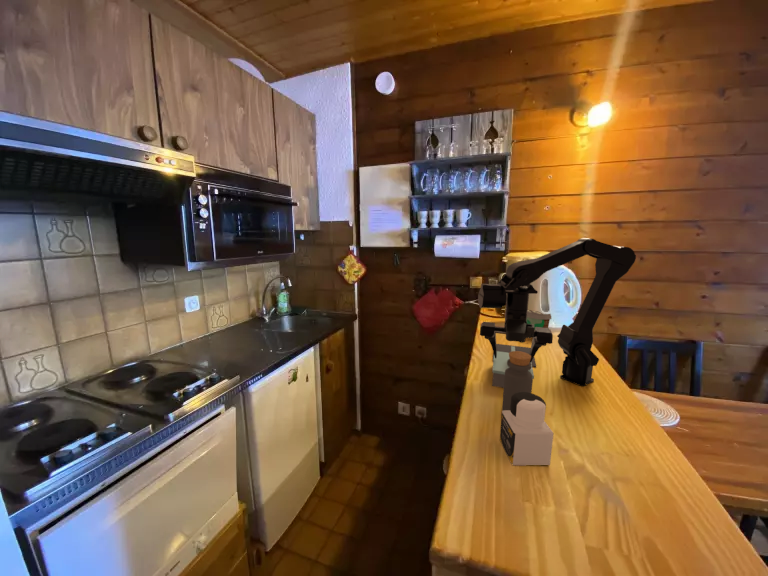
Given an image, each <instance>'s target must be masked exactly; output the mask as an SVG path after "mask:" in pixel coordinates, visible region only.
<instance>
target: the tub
mask: <svg viewBox="0 0 768 576" xmlns="http://www.w3.org/2000/svg"><path fill="white" fill-rule="evenodd" d="M504 377H505V375H504V374H497V373H492V385H491V387H497V388H503V389H504ZM533 380H534V379H532V383H533ZM532 391H533V384H532V385H531V393H532Z"/></svg>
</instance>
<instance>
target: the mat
mask: <svg viewBox="0 0 768 576" xmlns="http://www.w3.org/2000/svg"><path fill="white" fill-rule="evenodd" d="M496 346H497V351H499V352H507V353H510V352H511V346H512V344H510V345H508V344H502V343H501V344H500V343H496ZM513 346H514V347H515V351H521V352H525V353H528V354H529V355H530V350H531V347H526V346H521V345H519V346H518V345H513ZM493 359H494V353H492V360H493ZM531 363H532V368H537V363H536V358H535V357H534V358H533V360H532V362H531Z"/></svg>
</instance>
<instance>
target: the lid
mask: <svg viewBox="0 0 768 576" xmlns="http://www.w3.org/2000/svg"><path fill="white" fill-rule="evenodd" d="M514 346H515V345H511V352H512V351H515V347H514ZM508 359H510V358H509V353H507V352H499V351H497V358H495V356H494V359H493V358H492V374H493V373H497V374H504V375H505V370H506V369H507V368H509V366H508V365H507V361H508ZM533 368H534V367H532V363H531V369H530V370H528V371H529V372H530V373H531V374H532V379H533V380H534V379H535V378H534V377H535V375H534V369H533Z"/></svg>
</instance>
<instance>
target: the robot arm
mask: <svg viewBox="0 0 768 576" xmlns="http://www.w3.org/2000/svg"><path fill="white" fill-rule="evenodd" d="M586 255H587V256H589V257H590V258H594V259H596V260H595V265H594V267H595V268H594V269H595V276H594V278H593V280H592V283H591V285H590V287H589V289H588V291H587V294H586V295H585V297H584V299H583V302H582V304H581V306H580V308H579V310H578V312H577V314H576V316H575V318H574V320H573V322H572V323H570V324H569V325H566V324H562V326H561V330H560V332H559V333H558V334H557V336H556V337H557V338H558V339H557V343H558V346H559V347H560V349H561V350H562V353H563V354H564V355H566V356H565V357H564V360H563V361H562V367H561V369H562V370H561V375H560V376H559V378H560V379H563V380H565V381H568V382H570V383H573V384H575V385H578V386H581V387H586V386H587V385H589V384H591V383H593V382H594V381H595V380H594V378H593V377H592V376H593V369H594V367H596V366H597V365H598V363H599V361H600V358H599V357H598V356H597V355H596V354H595V353H594V352H593V351H592V347H593V343H594V336H593V335H594V333H593V330H594V327H595V326H596V323H597V322H598V319H599V318H600V316H601V313H602V311H603V309H604V307H605V305H606V304H607V301H608V299H609V296H610V295H611V293H612V290H613V289H614V287H615V285H616V283H617V282H618V281H619V280H620V279H621V278H622V277H624V276H625V275H627V273H628V272H629V271H630V269H631V268H632V267H633V266H634V264H635V262H636V259H637V255H636V253H635V251H634V249H632V248H631V247H628V246H619V245H611V244H608V243H604V242H601V241H599V240H597V239H594V238H586V237H582V238H579V239H577V240H576V241H574V242H571V243H568V244H567V245H564V246H562V247H560V248H558V249H555V250H553V251H550V252H548V253H545V254H544V255H542V256H539V257H536V258H532V259H526V260H525V259H524V260H521V261H516V262H512V263H510V265H508V266H507V268H506V272H505V274H504V275H503V276H502V277H501V279H500V280H499V281H498V282H497V284H490V283H489V284H488V283H481V285H480V289H479V292H478V295H477V299H478V300H477V301H478V306H479V308H480V309H502V308H503V307H505V315H504V326H496V323H495V322H492V321H491V322H490V321H482V322H481V324H480V327H479V336H481V337H484V339H486V340H488V341H489V343H490V346H491V349H492V352H493V353H494V356H495V358H497V346H496V344H497V334H502V335H505V340H506V341H508V342H518V343H520V344H521V343H525V342H526V339H531V338H532V340H531V346H530V348H531V350H530V355H531V360H530V363H531V362H532V360H533V358H535V356H536V353H537V352H538V351H539V349H540V348H541V347H545V346H547V344H548V345H549V344H553V340H554V339H553V338H554V335H553V332H552V331H551V328H549V327H548V328H543V327H535V326H534V324H527V313H528V310H529V299H530V294H534V295H535V294H538V290H537V289H535V288H534V286H533V284H532V283H533V282H535V281H537V280H538V279H540V278H541V277H542V276H543V275H544V274H545V273H547V272H549V271H551V270H553V269H556V268H558V267H561V266H563V265H565V264H568V263H571V262H574V261H575V260H578V259H580V258H581V257H585V256H586ZM534 328H535V330H534ZM493 353H492V354H493Z"/></svg>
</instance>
